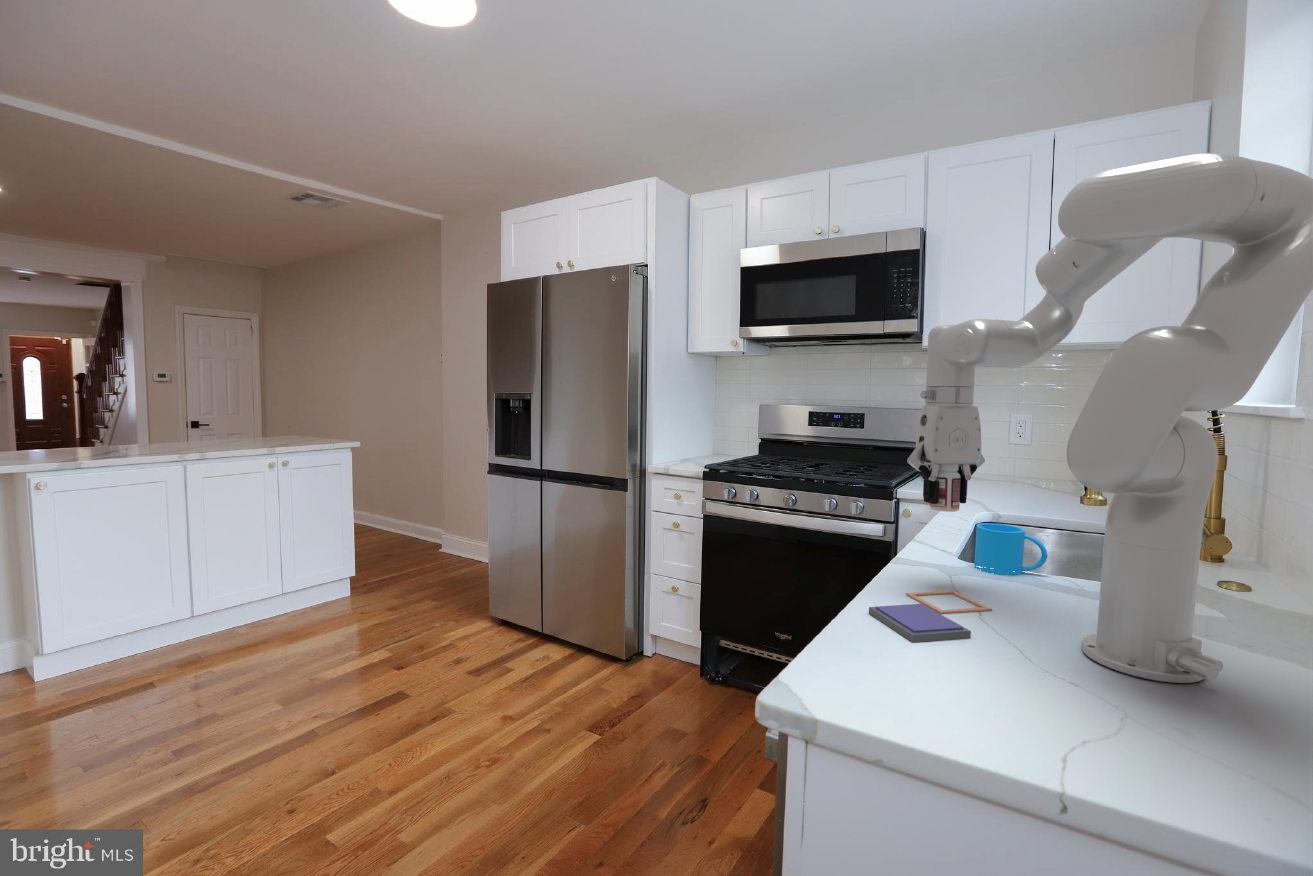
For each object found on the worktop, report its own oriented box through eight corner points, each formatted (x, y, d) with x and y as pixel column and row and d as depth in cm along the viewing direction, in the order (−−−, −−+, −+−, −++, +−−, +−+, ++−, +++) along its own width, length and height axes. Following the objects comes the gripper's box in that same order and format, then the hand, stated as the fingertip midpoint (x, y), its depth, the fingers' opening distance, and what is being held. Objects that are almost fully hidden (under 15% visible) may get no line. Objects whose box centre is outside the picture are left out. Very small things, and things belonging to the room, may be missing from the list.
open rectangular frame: (991, 610, 98) (991, 608, 98) (940, 614, 96) (940, 612, 96) (953, 592, 107) (953, 590, 107) (905, 594, 105) (905, 593, 105)
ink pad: (970, 638, 87) (971, 628, 87) (912, 642, 85) (913, 633, 85) (921, 610, 98) (921, 602, 98) (868, 613, 96) (869, 605, 96)
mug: (971, 570, 120) (974, 528, 119) (976, 561, 127) (979, 521, 126) (1045, 582, 114) (1048, 537, 113) (1046, 571, 120) (1049, 529, 120)
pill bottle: (953, 507, 112) (955, 460, 112) (963, 512, 107) (965, 463, 107) (925, 506, 113) (927, 460, 112) (934, 511, 108) (936, 462, 107)
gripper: (918, 397, 103) (914, 507, 104) (1007, 398, 107) (1002, 505, 108) (892, 397, 110) (888, 500, 112) (976, 398, 114) (971, 498, 115)
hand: (944, 501), depth 110 cm, fingers closed on pill bottle, 4 cm apart
